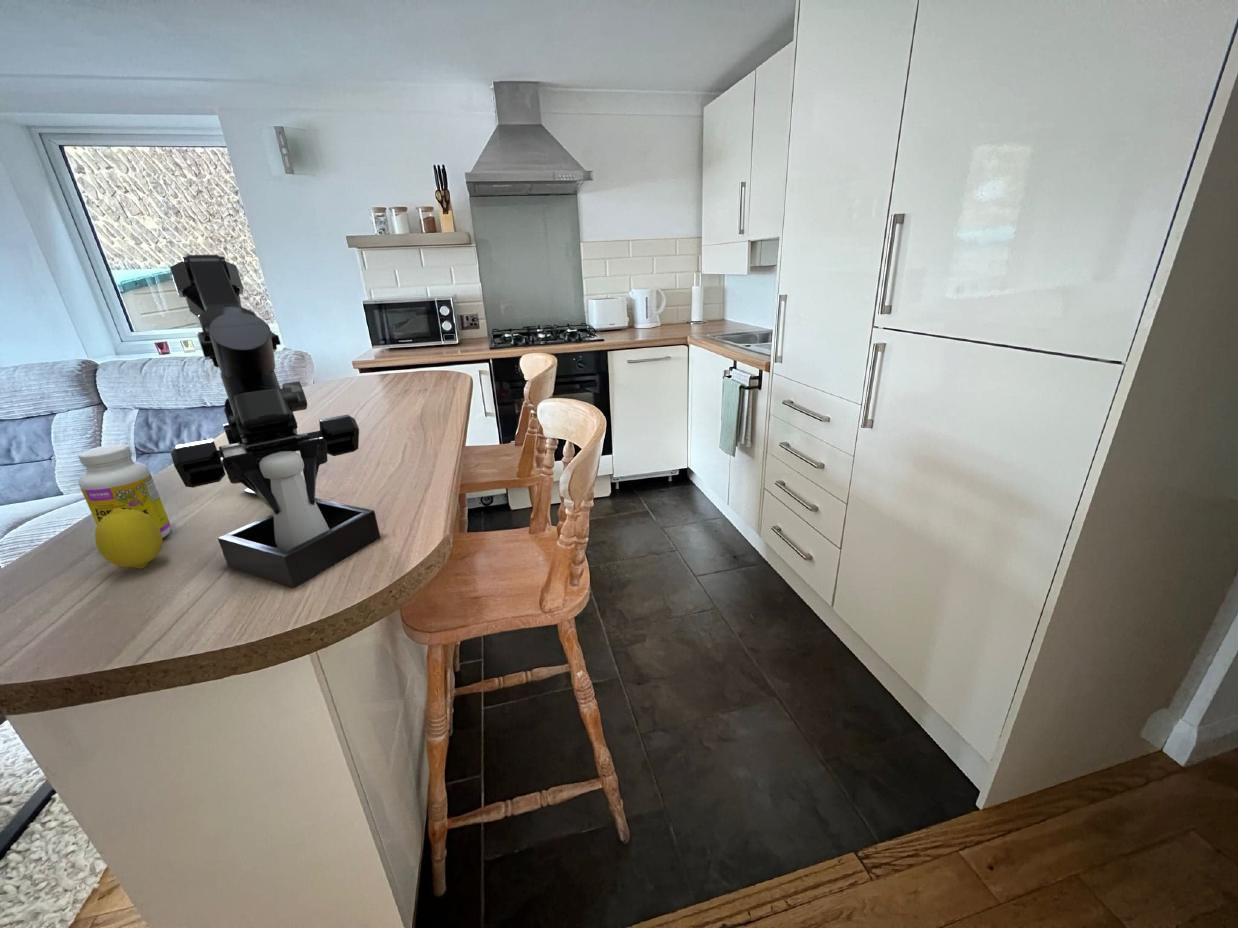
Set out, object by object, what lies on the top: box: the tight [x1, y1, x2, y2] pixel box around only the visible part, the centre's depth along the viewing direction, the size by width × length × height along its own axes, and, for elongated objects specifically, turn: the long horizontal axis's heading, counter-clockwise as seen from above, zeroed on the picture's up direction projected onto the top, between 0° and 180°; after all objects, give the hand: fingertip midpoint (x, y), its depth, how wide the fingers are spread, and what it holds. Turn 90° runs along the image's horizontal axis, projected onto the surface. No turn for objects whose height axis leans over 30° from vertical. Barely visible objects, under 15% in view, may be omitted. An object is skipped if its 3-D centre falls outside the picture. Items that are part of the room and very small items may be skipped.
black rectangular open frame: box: [217, 497, 381, 589], centre depth 63 cm, size 12×12×4 cm
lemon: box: [94, 508, 163, 570], centre depth 60 cm, size 6×6×8 cm
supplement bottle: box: [78, 443, 172, 539], centre depth 66 cm, size 7×7×13 cm
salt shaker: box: [259, 451, 329, 551], centre depth 61 cm, size 6×6×13 cm
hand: (295, 508), depth 60 cm, fingers closed on salt shaker, 3 cm apart
